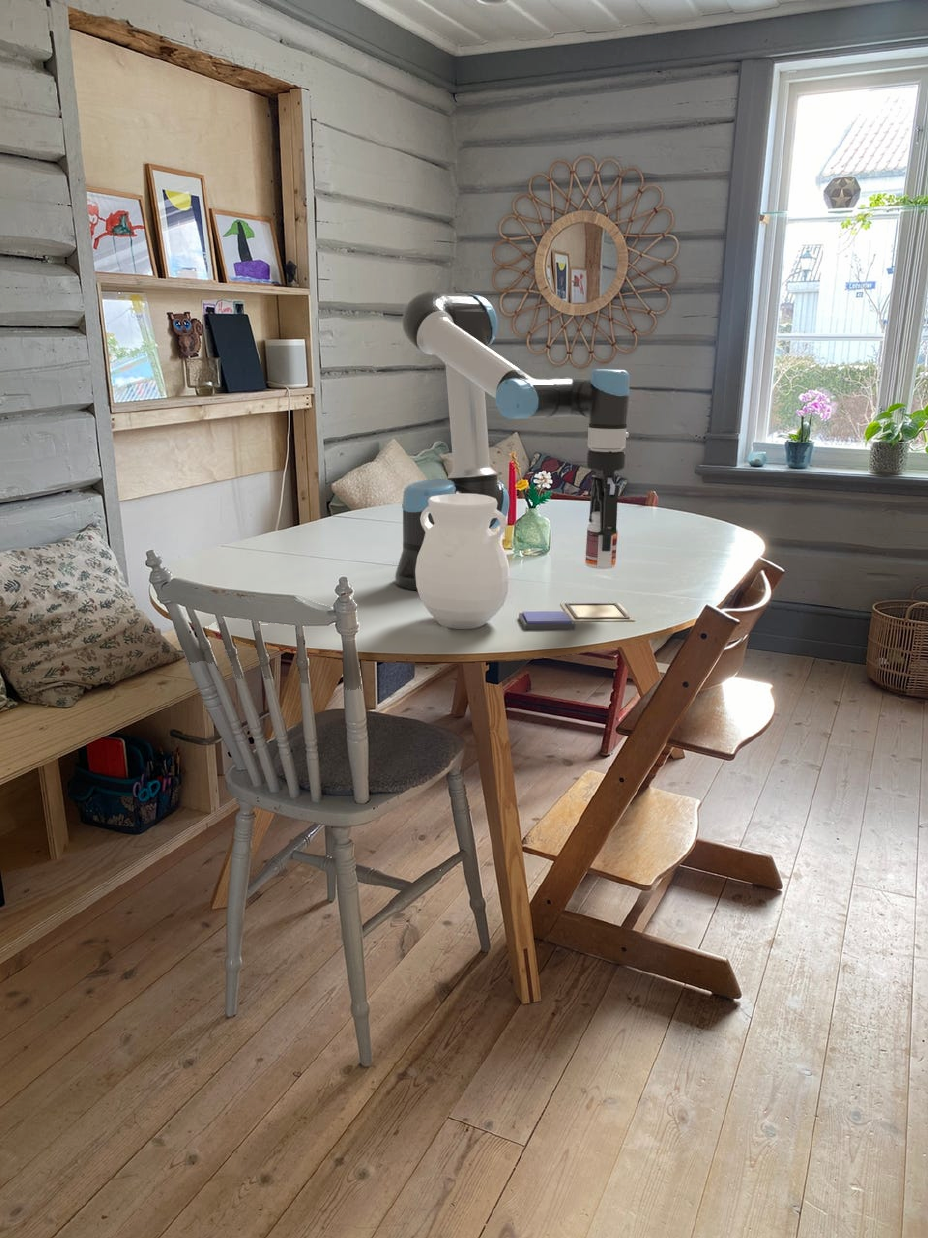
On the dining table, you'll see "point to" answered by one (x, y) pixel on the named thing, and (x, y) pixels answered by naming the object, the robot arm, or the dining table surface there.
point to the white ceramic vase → (462, 560)
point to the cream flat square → (596, 612)
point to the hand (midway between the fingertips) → (600, 562)
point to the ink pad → (546, 620)
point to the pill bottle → (593, 543)
